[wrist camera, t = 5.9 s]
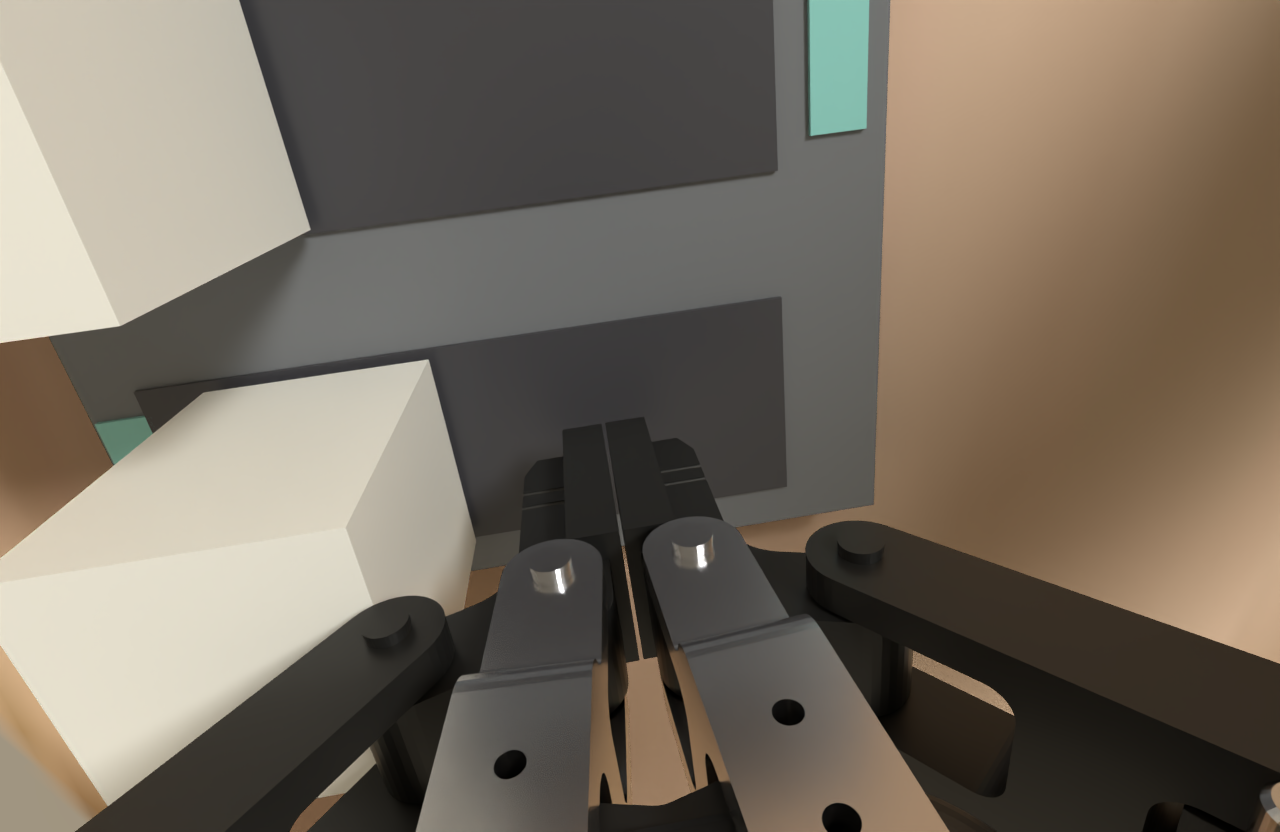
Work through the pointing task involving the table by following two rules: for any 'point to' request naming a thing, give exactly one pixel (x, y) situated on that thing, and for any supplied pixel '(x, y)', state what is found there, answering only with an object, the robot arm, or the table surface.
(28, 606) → the tab
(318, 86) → the switch bank
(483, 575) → the table surface
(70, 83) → the tab middle
